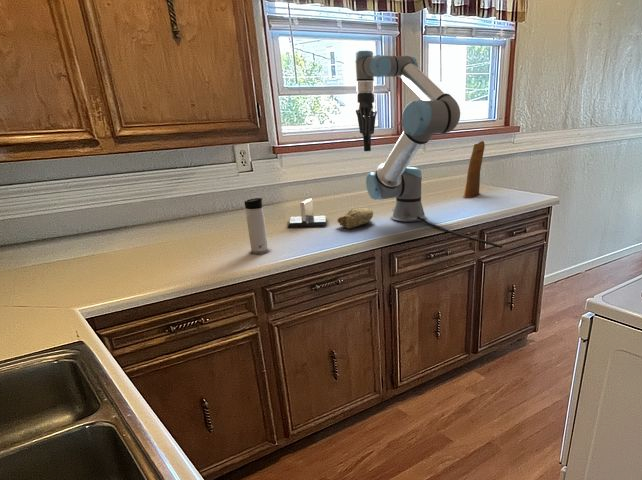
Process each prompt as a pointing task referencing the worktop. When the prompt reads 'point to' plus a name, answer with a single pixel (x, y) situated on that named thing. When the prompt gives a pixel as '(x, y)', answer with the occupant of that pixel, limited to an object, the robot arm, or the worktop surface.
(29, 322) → the worktop surface
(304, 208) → the thin white box
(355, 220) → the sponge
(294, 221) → the stove panel
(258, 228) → the travel mug
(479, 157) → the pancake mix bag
